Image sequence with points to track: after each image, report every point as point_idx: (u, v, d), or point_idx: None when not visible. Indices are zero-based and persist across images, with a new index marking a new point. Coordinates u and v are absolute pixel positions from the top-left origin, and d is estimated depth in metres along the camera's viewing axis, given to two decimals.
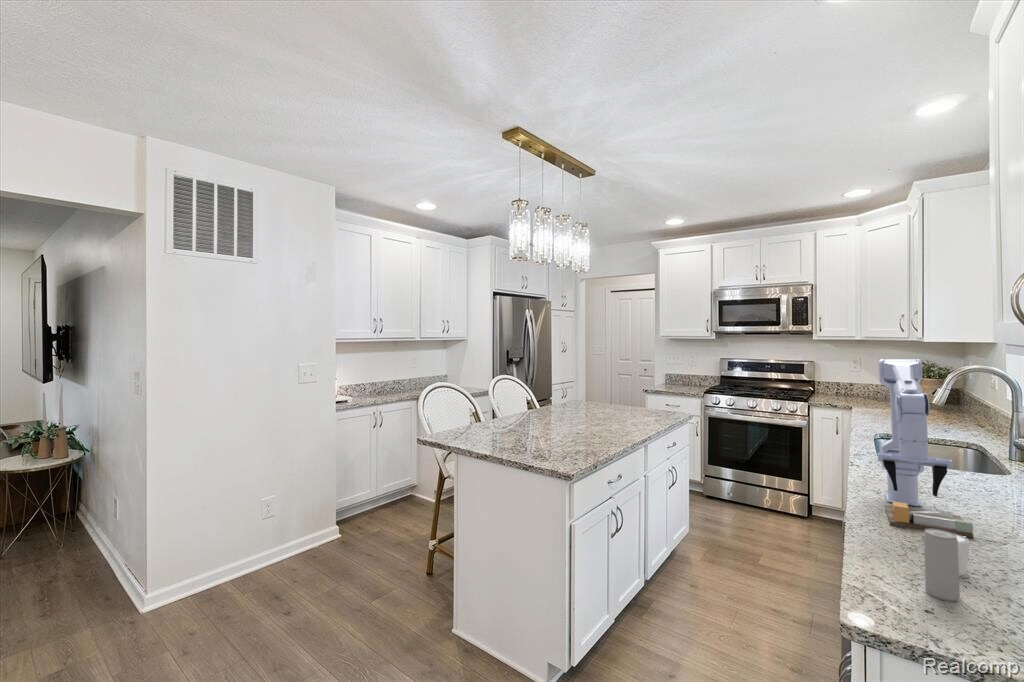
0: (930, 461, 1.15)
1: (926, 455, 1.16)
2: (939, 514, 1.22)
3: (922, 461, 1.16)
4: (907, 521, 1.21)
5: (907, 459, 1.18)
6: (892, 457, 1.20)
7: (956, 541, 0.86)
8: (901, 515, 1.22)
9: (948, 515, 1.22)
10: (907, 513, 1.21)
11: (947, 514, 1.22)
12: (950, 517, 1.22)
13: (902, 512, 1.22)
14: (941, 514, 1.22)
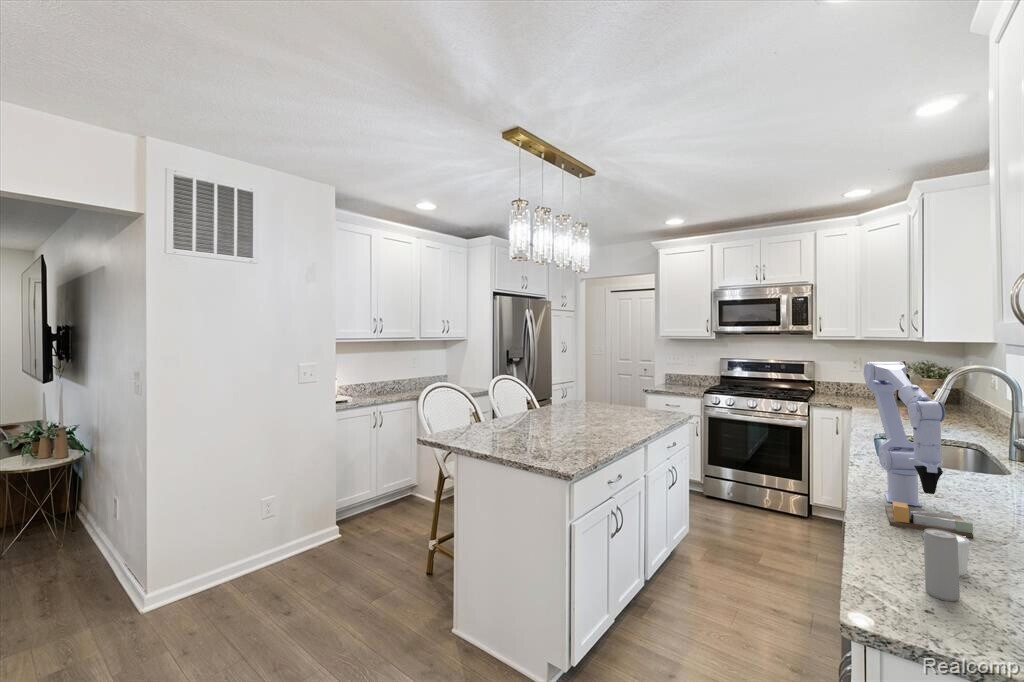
0: (919, 462, 1.26)
1: (921, 457, 1.27)
2: (939, 514, 1.22)
3: (915, 461, 1.28)
4: (907, 521, 1.21)
5: None
6: None
7: (956, 541, 0.86)
8: (901, 515, 1.22)
9: (948, 515, 1.22)
10: (907, 513, 1.21)
11: (947, 514, 1.22)
12: (950, 517, 1.22)
13: (902, 512, 1.22)
14: (941, 514, 1.22)
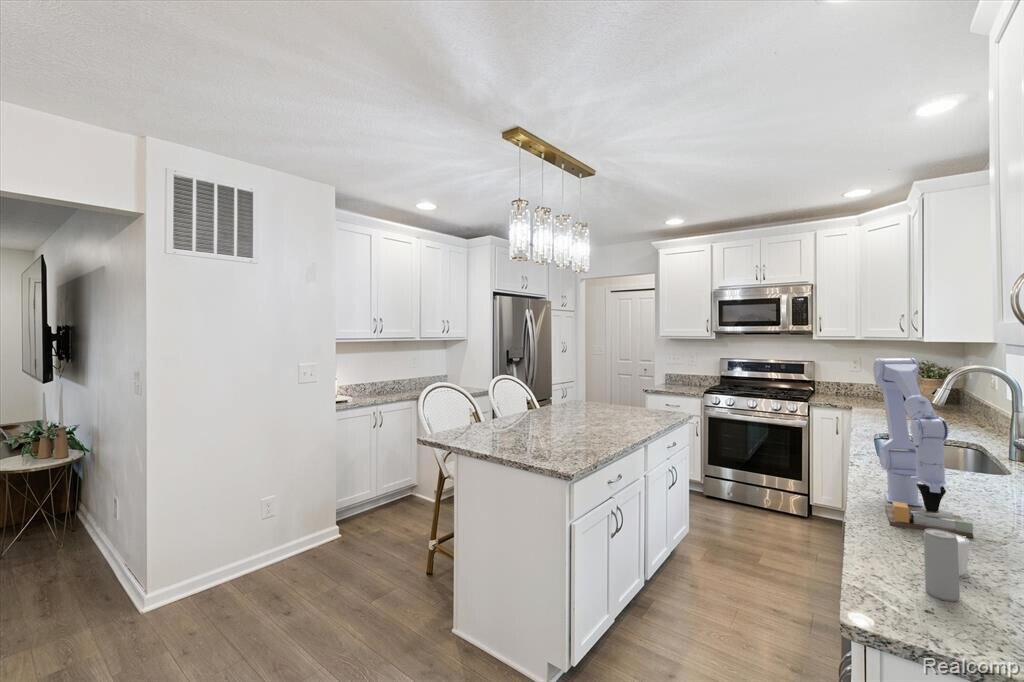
0: (921, 481, 1.24)
1: (924, 476, 1.24)
2: (939, 514, 1.22)
3: (918, 480, 1.25)
4: (907, 521, 1.21)
5: None
6: None
7: (956, 541, 0.86)
8: (901, 515, 1.22)
9: (948, 515, 1.22)
10: (907, 513, 1.21)
11: (947, 514, 1.22)
12: (950, 517, 1.22)
13: (902, 512, 1.22)
14: (941, 514, 1.22)
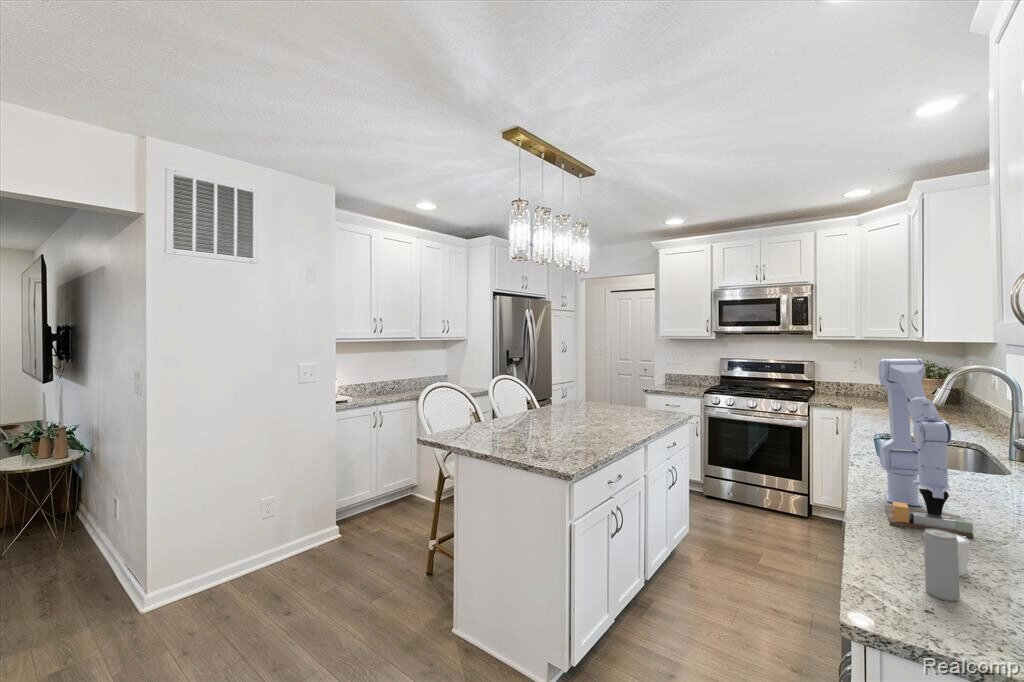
0: (924, 486, 1.20)
1: (927, 481, 1.20)
2: None
3: (920, 484, 1.22)
4: (907, 521, 1.21)
5: None
6: None
7: (956, 541, 0.86)
8: (901, 515, 1.22)
9: None
10: (907, 513, 1.21)
11: None
12: None
13: (902, 512, 1.22)
14: None
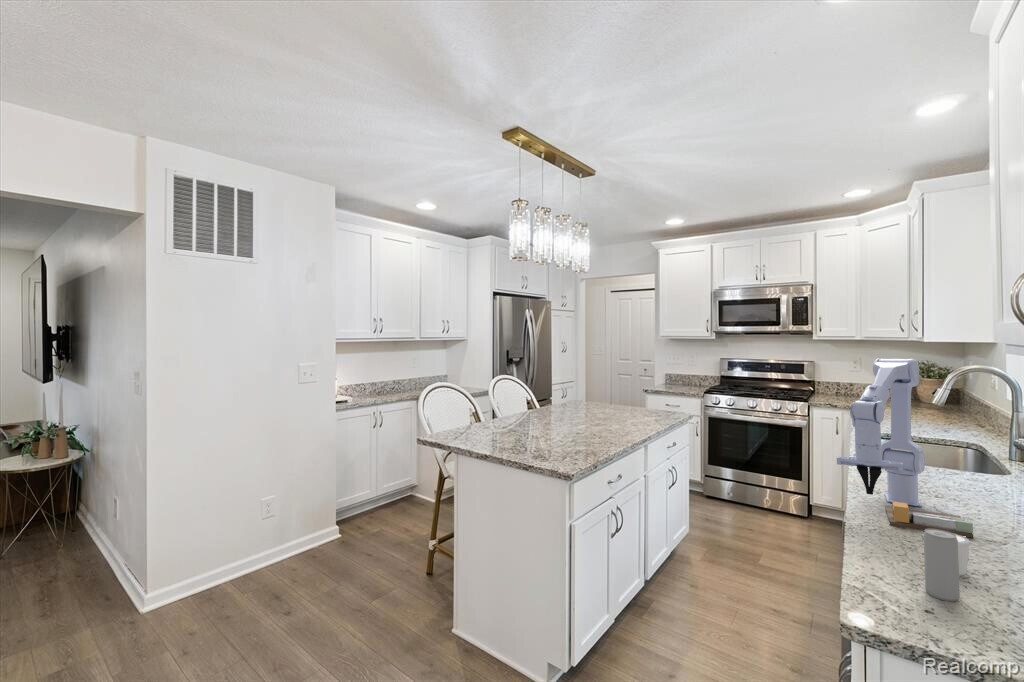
0: (883, 464, 1.24)
1: (879, 458, 1.25)
2: None
3: (876, 464, 1.24)
4: (907, 521, 1.21)
5: (862, 462, 1.26)
6: (849, 460, 1.29)
7: (956, 541, 0.86)
8: (901, 515, 1.22)
9: None
10: (907, 513, 1.21)
11: None
12: None
13: (902, 512, 1.22)
14: None
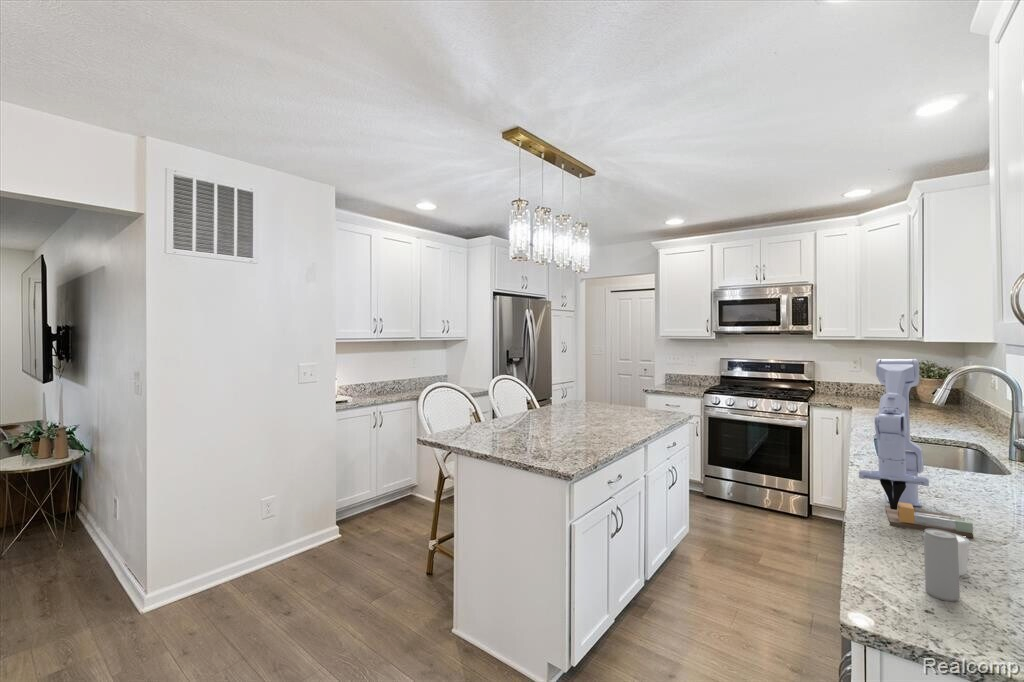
0: (908, 479, 1.21)
1: (904, 473, 1.22)
2: None
3: (900, 479, 1.21)
4: (912, 522, 1.20)
5: (886, 477, 1.23)
6: (872, 475, 1.26)
7: (956, 541, 0.86)
8: (907, 516, 1.21)
9: None
10: (912, 514, 1.20)
11: None
12: None
13: (907, 513, 1.21)
14: None
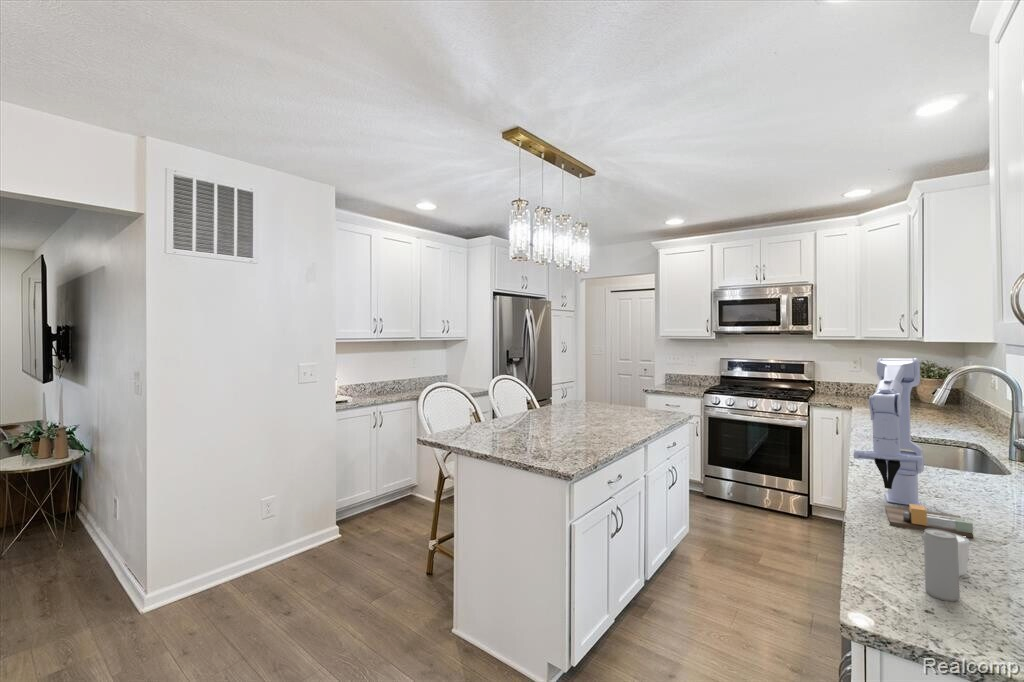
0: (902, 458, 1.22)
1: (898, 452, 1.23)
2: None
3: (895, 458, 1.22)
4: (925, 524, 1.19)
5: (881, 456, 1.24)
6: (867, 454, 1.26)
7: (956, 541, 0.86)
8: (919, 518, 1.20)
9: None
10: (925, 516, 1.19)
11: None
12: None
13: (920, 514, 1.19)
14: None
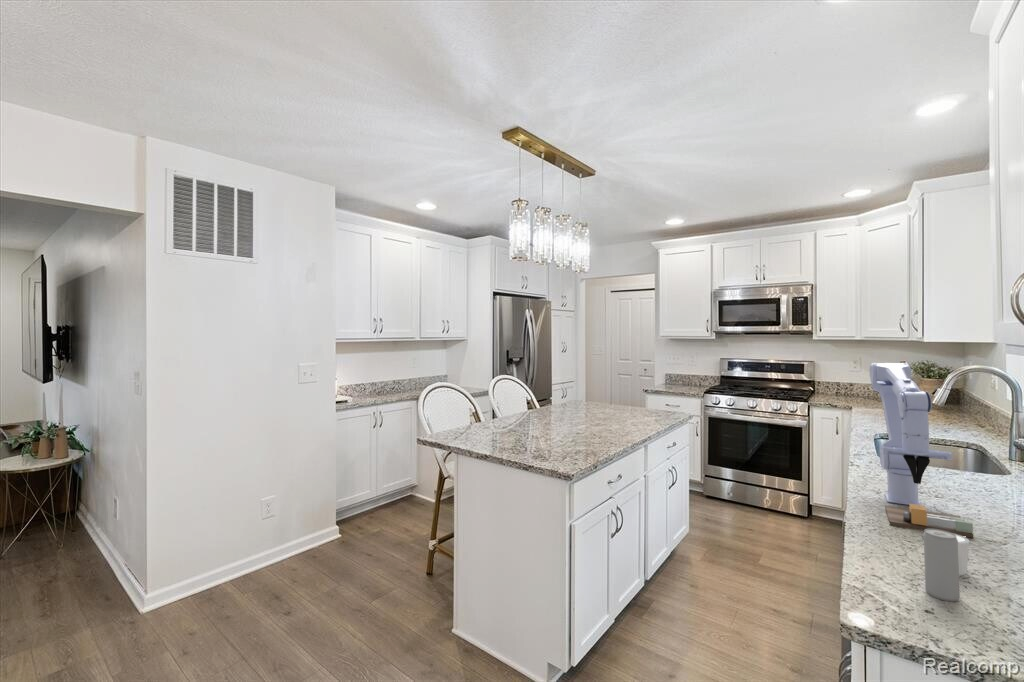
0: (931, 453, 1.25)
1: (928, 448, 1.26)
2: None
3: (924, 454, 1.26)
4: (925, 524, 1.19)
5: (910, 452, 1.27)
6: (896, 450, 1.30)
7: (956, 541, 0.86)
8: (919, 518, 1.20)
9: None
10: (925, 516, 1.19)
11: None
12: None
13: (920, 514, 1.19)
14: None
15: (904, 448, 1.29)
